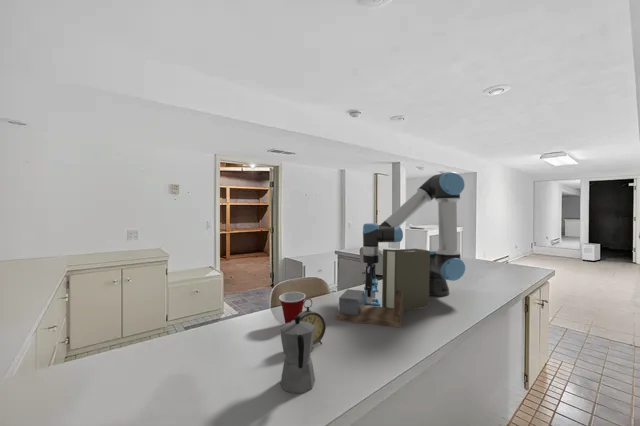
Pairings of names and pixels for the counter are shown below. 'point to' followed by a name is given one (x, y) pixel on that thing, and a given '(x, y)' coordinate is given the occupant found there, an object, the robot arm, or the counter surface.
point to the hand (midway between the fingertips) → (370, 300)
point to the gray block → (351, 302)
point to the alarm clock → (314, 323)
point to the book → (406, 278)
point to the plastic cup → (292, 304)
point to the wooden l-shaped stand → (379, 314)
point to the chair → (374, 289)
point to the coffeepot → (297, 356)
